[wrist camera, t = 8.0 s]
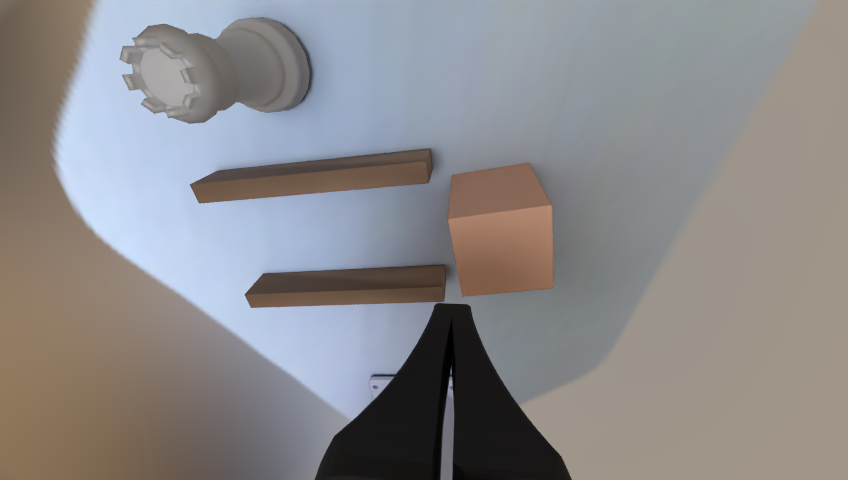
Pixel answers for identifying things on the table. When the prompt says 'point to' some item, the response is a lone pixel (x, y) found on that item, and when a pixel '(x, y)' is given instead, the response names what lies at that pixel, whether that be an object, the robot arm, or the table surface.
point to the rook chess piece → (217, 69)
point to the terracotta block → (501, 231)
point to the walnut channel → (331, 178)
